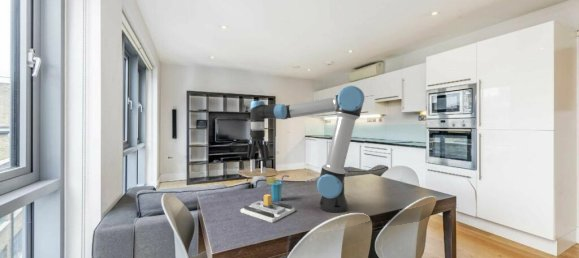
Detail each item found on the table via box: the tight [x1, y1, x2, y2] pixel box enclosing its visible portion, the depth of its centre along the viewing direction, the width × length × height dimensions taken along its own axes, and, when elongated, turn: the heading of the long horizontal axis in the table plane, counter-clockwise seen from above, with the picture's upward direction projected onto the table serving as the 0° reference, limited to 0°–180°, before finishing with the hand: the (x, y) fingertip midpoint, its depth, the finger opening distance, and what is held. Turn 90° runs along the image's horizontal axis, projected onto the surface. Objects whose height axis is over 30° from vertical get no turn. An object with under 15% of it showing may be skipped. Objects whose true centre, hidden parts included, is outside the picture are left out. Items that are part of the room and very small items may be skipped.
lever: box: [263, 193, 272, 209], centre depth 123 cm, size 4×3×7 cm
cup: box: [265, 174, 290, 202], centre depth 142 cm, size 14×8×15 cm, turn 104°
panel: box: [240, 198, 296, 223], centre depth 123 cm, size 22×18×3 cm
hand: (257, 172), depth 127 cm, fingers open, 7 cm apart
